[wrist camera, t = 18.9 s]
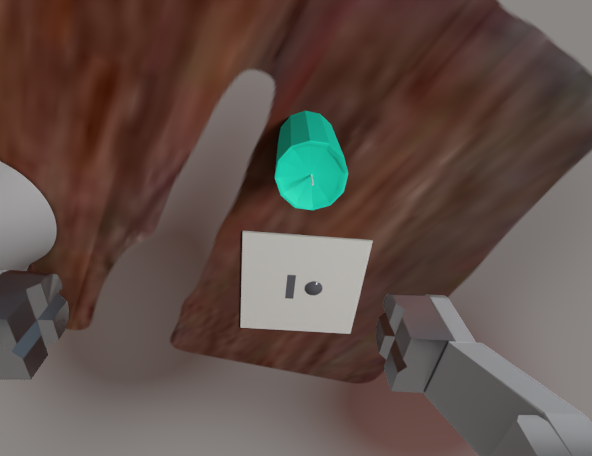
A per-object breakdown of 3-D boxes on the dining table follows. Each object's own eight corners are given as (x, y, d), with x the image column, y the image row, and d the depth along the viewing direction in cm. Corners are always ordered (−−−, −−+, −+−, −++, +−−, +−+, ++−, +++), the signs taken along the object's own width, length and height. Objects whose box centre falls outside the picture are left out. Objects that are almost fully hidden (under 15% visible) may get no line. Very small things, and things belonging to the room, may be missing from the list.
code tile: (240, 325, 51) (240, 327, 51) (242, 230, 43) (242, 232, 43) (350, 332, 52) (350, 333, 52) (372, 240, 44) (372, 241, 44)
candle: (317, 175, 40) (327, 229, 29) (268, 152, 38) (261, 200, 28) (345, 127, 37) (366, 167, 26) (293, 100, 35) (295, 132, 25)
